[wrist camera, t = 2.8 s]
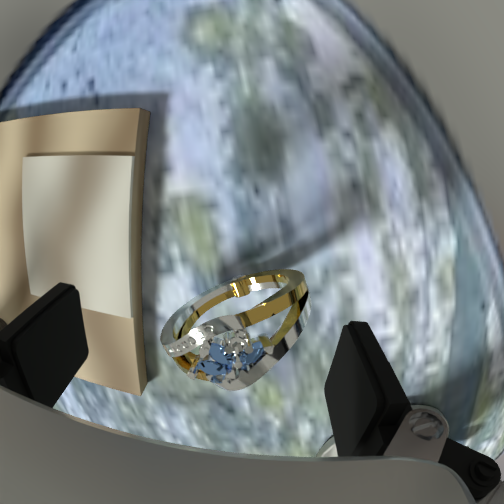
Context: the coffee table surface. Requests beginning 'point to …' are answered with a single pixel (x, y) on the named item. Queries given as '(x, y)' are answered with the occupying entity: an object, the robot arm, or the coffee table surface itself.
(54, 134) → the board
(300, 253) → the coffee table surface
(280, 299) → the ring
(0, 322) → the keeper hook
